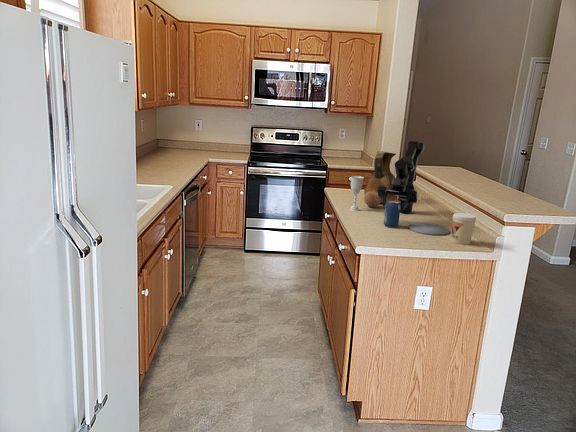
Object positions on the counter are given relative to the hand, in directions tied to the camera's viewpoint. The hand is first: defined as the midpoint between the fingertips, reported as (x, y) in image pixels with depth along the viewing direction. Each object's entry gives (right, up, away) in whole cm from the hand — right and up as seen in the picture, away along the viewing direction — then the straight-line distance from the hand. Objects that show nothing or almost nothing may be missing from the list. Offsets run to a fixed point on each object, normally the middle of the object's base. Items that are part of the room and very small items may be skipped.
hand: (393, 207), depth 219 cm
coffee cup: (+25, -15, -18) cm, 35 cm away
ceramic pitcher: (+5, +4, +56) cm, 56 cm away
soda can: (-1, -9, +2) cm, 9 cm away
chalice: (-14, -1, +31) cm, 34 cm away
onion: (-3, +1, +40) cm, 40 cm away
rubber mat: (+16, -10, -2) cm, 19 cm away
